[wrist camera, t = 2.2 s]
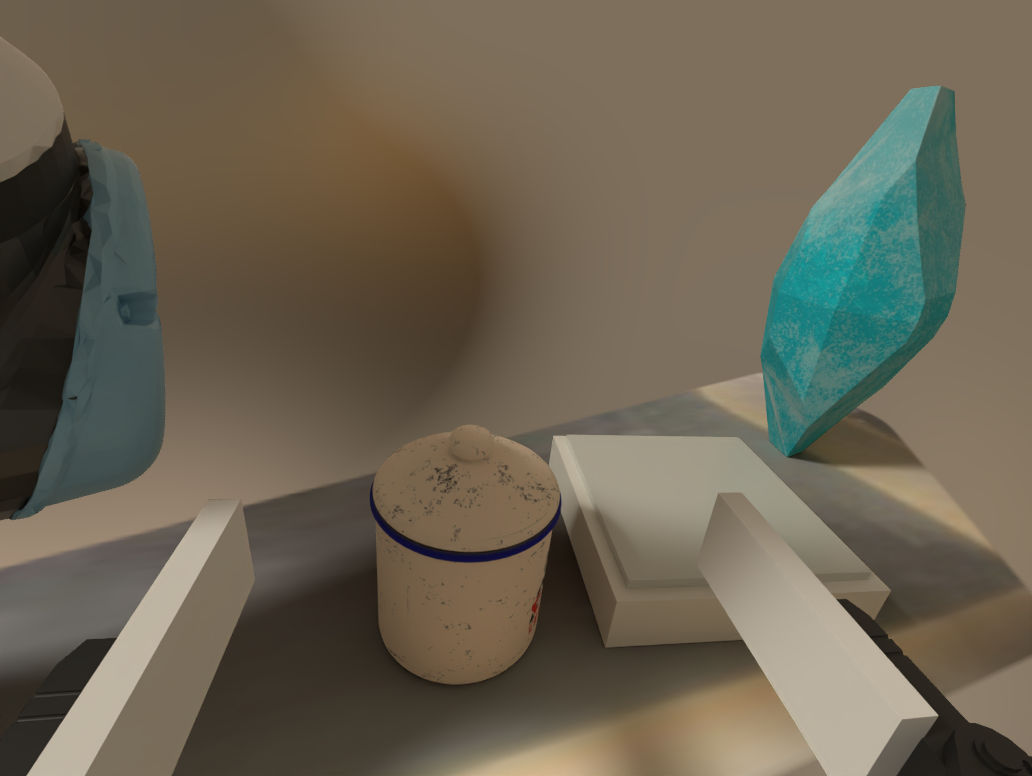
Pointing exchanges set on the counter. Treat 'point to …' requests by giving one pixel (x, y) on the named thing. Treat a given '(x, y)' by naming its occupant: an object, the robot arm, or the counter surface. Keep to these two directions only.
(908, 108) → the crystal
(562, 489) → the plinth
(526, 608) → the teacup with lid
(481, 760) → the counter surface
